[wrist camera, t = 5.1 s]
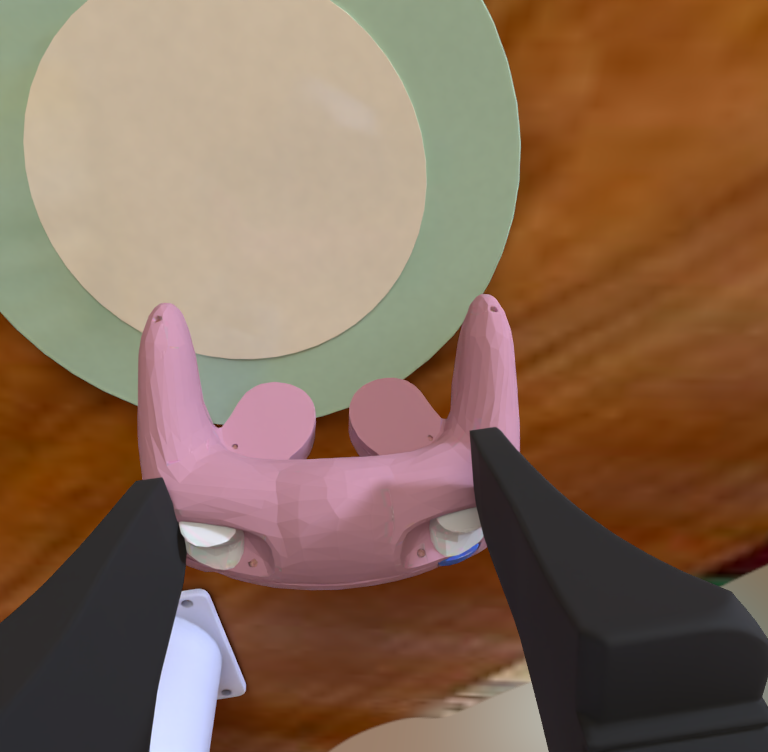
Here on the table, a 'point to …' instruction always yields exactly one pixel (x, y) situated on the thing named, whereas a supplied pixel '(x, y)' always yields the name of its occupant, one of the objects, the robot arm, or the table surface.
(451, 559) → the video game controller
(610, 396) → the table surface
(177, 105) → the plate
